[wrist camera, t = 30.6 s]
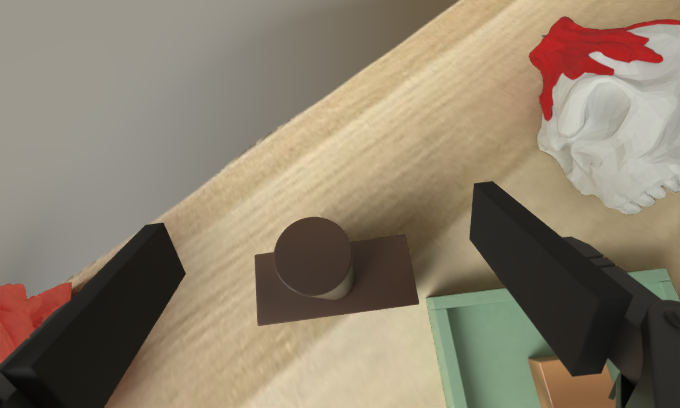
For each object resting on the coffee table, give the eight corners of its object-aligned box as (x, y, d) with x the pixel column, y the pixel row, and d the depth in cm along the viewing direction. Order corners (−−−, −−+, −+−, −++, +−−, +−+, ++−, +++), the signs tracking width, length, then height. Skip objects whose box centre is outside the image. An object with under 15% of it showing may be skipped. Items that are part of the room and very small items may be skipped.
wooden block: (526, 358, 21) (538, 361, 19) (586, 349, 21) (603, 353, 19) (546, 427, 20) (561, 437, 18) (610, 419, 20) (630, 428, 18)
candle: (591, 237, 23) (464, 103, 29) (708, 167, 24) (562, 53, 30) (707, 178, 15) (497, 10, 21) (878, 77, 16) (630, -55, 22)
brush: (270, 262, 24) (164, 212, 11) (397, 245, 24) (448, 172, 11) (273, 322, 23) (158, 348, 10) (409, 304, 23) (483, 304, 9)
